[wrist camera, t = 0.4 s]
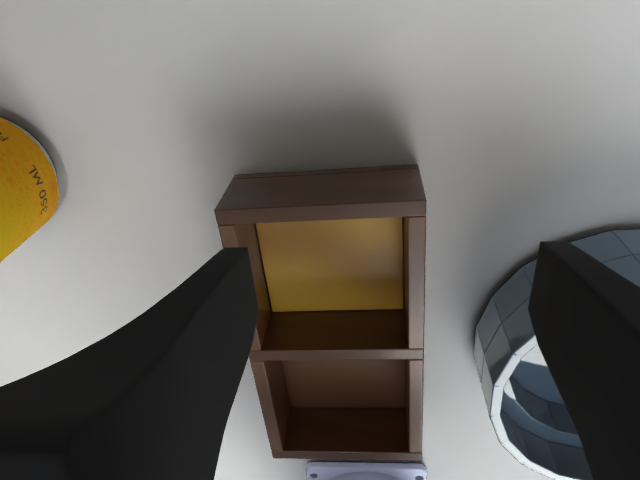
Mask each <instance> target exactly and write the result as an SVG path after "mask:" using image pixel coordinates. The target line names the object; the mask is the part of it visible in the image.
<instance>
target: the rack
mask: <svg viewBox="0 0 640 480" xmlns="http://www.w3.org/2000/svg"><path fill="white" fill-rule="evenodd" d="M214 212H215V216H216V220H217V224H218V228H219V232H220V236H221V241H222V245H223V248H230V247H248V252H249V258H250V263H251V269H252V275H253V280H254V286H255V292H256V297H257V303H258V309H259V311H258V317H257V323H256V329H255V334H254V339H253V344H252V347H251V350H250V353H249V358H250V362H251V366H252V371H253V375H254V379H255V383H256V387H257V392H258V396H259V400H260V404H261V409H262V413H263V417H264V421H265V425H266V430H267V434H268V438H269V442H270V447H271V450H272V455H273V458H293V459H355V460H417V461H421V460H422V425H423V364H424V360H423V358H424V307H425V246H426V197H425V193H424V188H423V184H422V180H421V175H420V171H419V166H418V165H400V166H383V167H366V168H349V169H332V170H314V171H297V172H280V173H263V174H245V175H235V176H234V177H233V179H232V181H231V182H230V184H229V186H228V188H227V189H226V191H225V193H224V194H223V196H222V198H221V200H220V201H219V203H218V205H217V207H216V208H215V210H214Z"/></svg>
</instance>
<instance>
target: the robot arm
mask: <svg viewBox="0 0 640 480" xmlns="http://www.w3.org/2000/svg"><path fill="white" fill-rule="evenodd" d="M258 311H259V309H258V303H257V297H256V292H255V286H254V280H253V275H252V269H251V263H250V258H249V252H248V247H230V248H223V249H222V250H221V251H219V252H218V253H217V254H216V255H215V256H213V257H212V258H211V259H210V260H209V261H208V262H206V263H205V264H204V265H203V266H202V267H201V268H199V269H198V270H197V271H196V272H195V273H194V274H192V275H191V276H190V277H189V278H188V279H186V280H185V281H184V282H183V283H182V284H181V285H179V286H178V287H177V288H176V289H174V290H173V291H172V292H171V293H169V294H168V295H167V296H165V297H164V298H163V299H161V300H160V301H159V302H157V303H156V304H155V305H153V306H152V307H151V308H150V309H148V310H147V311H146V312H144V313H143V314H141V315H140V316H138V317H137V318H135V319H134V320H132V321H131V322H129V323H128V324H126V325H125V326H123V327H121V328H120V329H118V330H117V331H115V332H113V333H112V334H110V335H108V336H107V337H105V338H103V339H101V340H100V341H98V342H96V343H94V344H92V345H90V346H88V347H86V348H85V349H83V350H81V351H79V352H77V353H75V354H73V355H72V356H70V357H68V358H66V359H64V360H62V361H59V362H57V363H55V364H53V365H51V366H49V367H47V368H44V369H42V370H40V371H38V372H35V373H33V374H31V375H28V376H26V377H24V378H21V379H19V380H16V381H14V382H12V383H9V384H7V385H4V386H1V387H0V480H214V476H215V470H216V466H217V461H218V457H219V452H220V448H221V443H222V438H223V434H224V430H225V427H226V423H227V420H228V416H229V413H230V410H231V407H232V404H233V401H234V398H235V395H236V392H237V389H238V386H239V383H240V380H241V377H242V374H243V371H244V368H245V365H246V362H247V359H248V356H249V353H250V350H251V347H252V344H253V339H254V334H255V329H256V323H257V317H258ZM528 312H529V315H530V319H531V323H532V326H533V330H534V333H535V337H536V340H537V343H538V346H539V348H540V351H541V353H542V355H543V357H544V360H545V362H546V364H547V366H548V369H549V371H550V373H551V375H552V377H553V380H554V382H555V384H556V386H557V388H558V391H559V393H560V395H561V397H562V399H563V402H564V404H565V406H566V408H567V410H568V413H569V415H570V417H571V419H572V421H573V424H574V426H575V428H576V431H577V433H578V436H579V438H580V441H581V444H582V446H583V449H584V453H585V456H586V459H587V462H588V465H589V468H590V471H591V474H592V477H593V480H640V287H639V286H637V285H635V284H634V283H632V282H631V281H629V280H628V279H626V278H624V277H623V276H621V275H620V274H618V273H617V272H615V271H614V270H612V269H610V268H609V267H607V266H606V265H604V264H603V263H601V262H600V261H598V260H597V259H595V258H594V257H592V256H591V255H589V254H587V253H586V252H584V251H583V250H581V249H580V248H578V247H576V246H575V245H573V244H571V243H569V242H567V241H558V242H540V246H539V251H538V257H537V262H536V267H535V273H534V278H533V283H532V289H531V294H530V299H529V305H528ZM306 473H307V478H308V480H427V468H426V466H424V465H423V464H406V463H347V462H310V463H308V464H307V468H306Z"/></svg>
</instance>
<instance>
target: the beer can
mask: <svg viewBox="0 0 640 480" xmlns="http://www.w3.org/2000/svg"><path fill="white" fill-rule="evenodd" d="M58 200H59V187H58V182H57V176H56V171H55V168H54V165H53V163H52V161H51V159H50V157H49V155H48V153H47V152H46V151H45V149H44V148H43V147H42V145H41V144H40V143H39V142H38V141H37V140H36V139H35V138H34V137H33V136H32V135H31V134H29V133H28V132H27V131H26V130H24V129H23V128H21V127H19V126H18V125H16V124H14V123H12V122H10V121H8V120H5V119H3V118H1V117H0V262H1V261H2V260H3V259H5V258H6V257H7V256H8V255H9V254H10V253H12V252H13V251H14V250H15V249H16V248H17V247H18V246H20V245H21V244H22V243H23V242H24V241H25V240H27V239H28V238H29V237H30V236H31V235H32V234H34V233H35V232H36V231H37V230H38V229H39V228H41V227H42V226H43V225H44V224H45V223H46V222H47V221H48V220H50V218H51V217H52V216H53V214H54V212H55V211H56V208H57V205H58Z"/></svg>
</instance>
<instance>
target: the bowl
mask: <svg viewBox="0 0 640 480" xmlns="http://www.w3.org/2000/svg"><path fill="white" fill-rule="evenodd" d="M569 243H571V244H573V245H575V246H576V247H578V248H580V249H581V250H583V251H584V252H586V253H587V254H589V255H591V256H592V257H594V258H595V259H597V260H598V261H600V262H601V263H603V264H604V265H606V266H607V267H609V268H610V269H612V270H614V271H615V272H617V273H618V274H620V275H621V276H623V277H624V278H626V279H628V280H629V281H631V282H632V283H634V284H635V285H637V286H639V287H640V229H636V230H614V231H608V232H604V233H601V234H597V235H594V236H590V237H587V238H583V239H580V240H576V241H573V242H569ZM536 262H537V259H535V260H533V261H532V262H530V263H528V264H526V265H525V266H523V267H522V268H520V269H519V270H518V271H517V272H516V273H515V274H514V275H513V276H512V277H511V278H510V279H509V280H508V281H507V282H506V283H505V284H504V285H503V286H502V287H501V288H500V289H499V290H498V291H497V292H496V293H495V294H494V295H493V297H492V298H491V300H490V302H489V304H488V306H487V308H486V309H485V311H484V313H483V315H482V317H481V319H480V321H479V323H478V325H477V327H476V337H475V349H474V358H475V362H476V366H477V370H478V374H479V378H480V382H481V385H482V389H483V393H484V397H485V401H486V405H487V409H488V413H489V417H490V419H491V422H492V424H493V427H494V430H495V432H496V435H497V438H498V440H499V442H500V444H501V445H502V446H503V447H504V448H505V449H506V450H507V451H508V452H509V453H510V454H511V455H512V456H513V457H515V458H516V459H517V460H518V461H519V462H520V463H521V464H522V465H524V466H526V467H528V468H530V469H532V470H534V471H536V472H538V473H540V474H542V475H544V476H547V477H549V478H551V479H554V480H593V477H592V474H591V471H590V468H589V465H588V462H587V459H586V456H585V453H584V449H583V446H582V444H581V441H580V438H579V436H578V433H577V431H576V428H575V426H574V424H573V421H572V419H571V417H570V415H569V413H568V410H567V408H566V406H565V404H564V402H563V399H562V397H561V395H560V393H559V391H558V388H557V386H556V384H555V382H554V380H553V377H552V375H551V373H550V371H549V369H548V366H547V364H546V362H545V360H544V357H543V355H542V353H541V351H540V348H539V346H538V343H537V340H536V337H535V333H534V330H533V326H532V323H531V319H530V315H529V312H528V305H529V299H530V294H531V289H532V283H533V278H534V273H535V267H536Z"/></svg>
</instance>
